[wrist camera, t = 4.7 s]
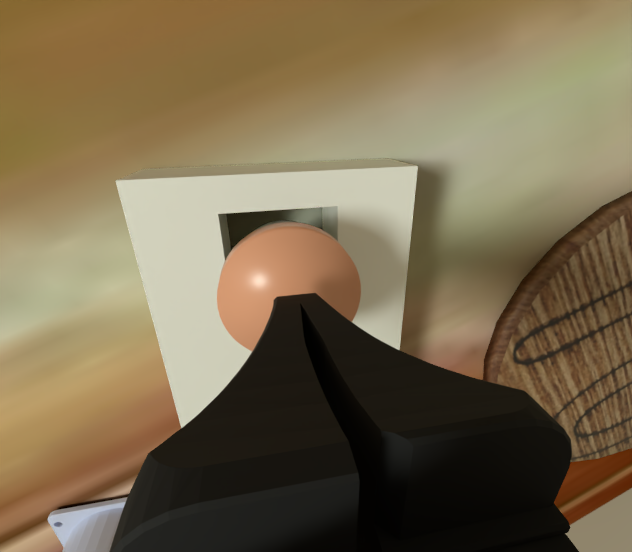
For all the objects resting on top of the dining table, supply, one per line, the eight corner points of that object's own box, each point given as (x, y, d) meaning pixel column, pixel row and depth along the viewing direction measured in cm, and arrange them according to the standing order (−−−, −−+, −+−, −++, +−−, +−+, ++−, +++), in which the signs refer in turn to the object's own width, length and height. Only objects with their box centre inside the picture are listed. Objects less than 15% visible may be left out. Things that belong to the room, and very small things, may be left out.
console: (370, 432, 26) (386, 474, 23) (209, 460, 24) (203, 510, 21) (387, 158, 17) (417, 165, 14) (142, 168, 16) (115, 180, 12)
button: (338, 306, 17) (358, 349, 14) (231, 318, 16) (227, 366, 13) (339, 202, 15) (363, 224, 11) (215, 210, 14) (205, 236, 11)
